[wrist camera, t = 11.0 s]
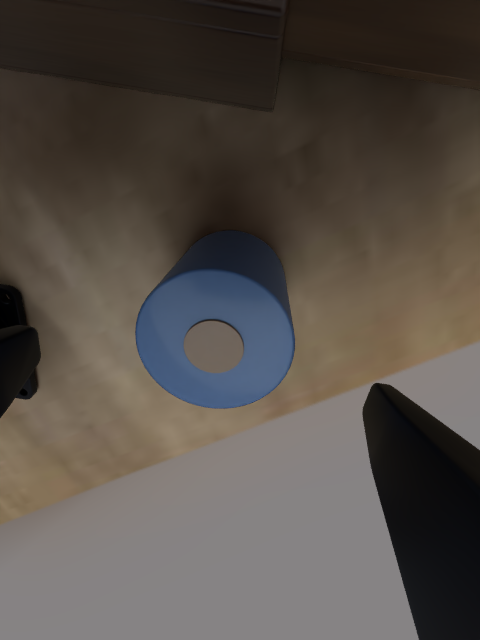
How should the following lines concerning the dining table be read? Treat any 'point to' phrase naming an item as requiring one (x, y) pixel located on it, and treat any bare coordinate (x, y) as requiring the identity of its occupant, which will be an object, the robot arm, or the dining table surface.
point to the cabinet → (152, 45)
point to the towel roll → (219, 323)
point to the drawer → (389, 37)
